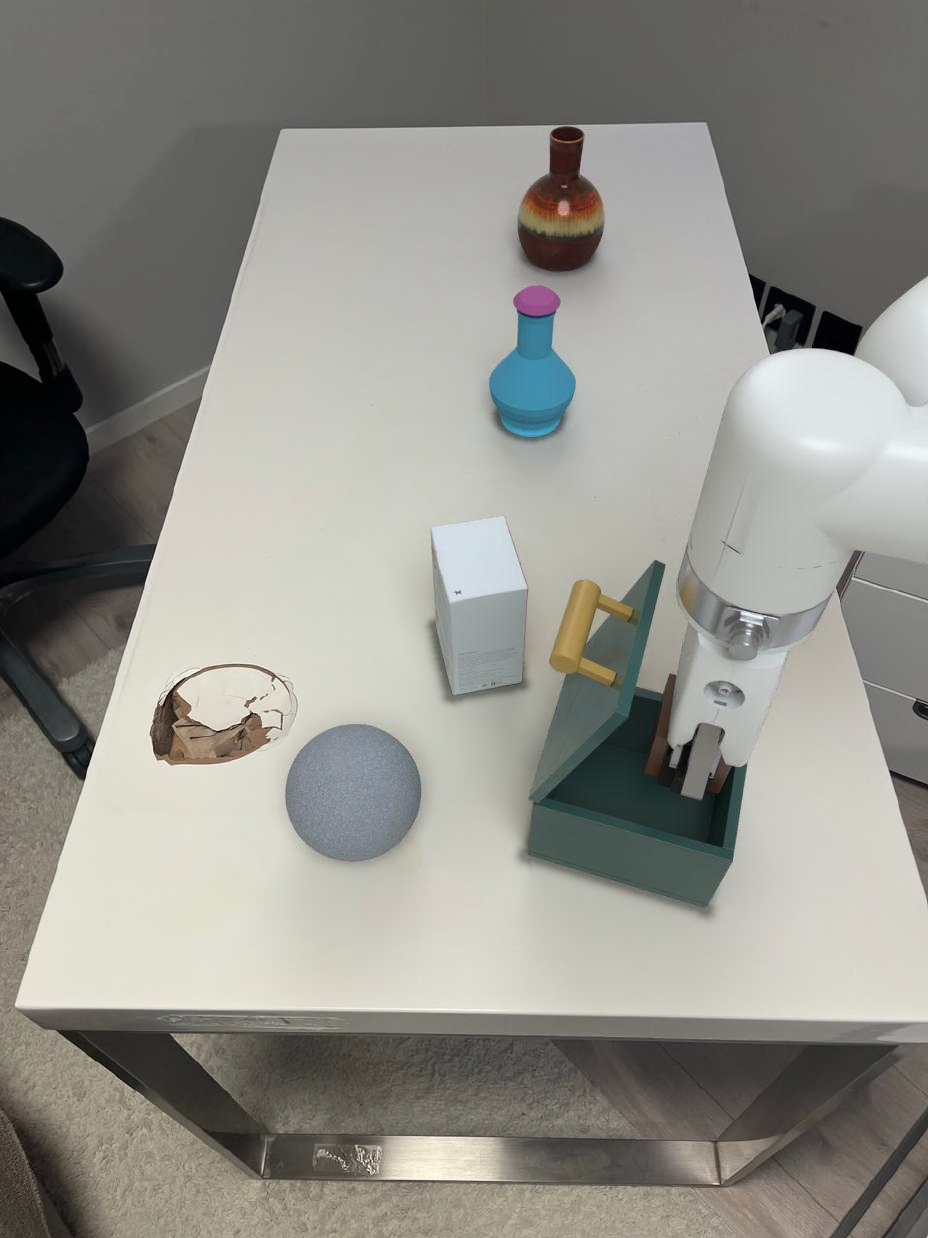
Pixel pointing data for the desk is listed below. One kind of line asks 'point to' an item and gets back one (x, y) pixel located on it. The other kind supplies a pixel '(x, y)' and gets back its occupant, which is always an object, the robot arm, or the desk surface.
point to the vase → (561, 208)
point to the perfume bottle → (533, 370)
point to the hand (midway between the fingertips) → (689, 749)
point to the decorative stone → (353, 792)
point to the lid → (595, 672)
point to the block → (661, 744)
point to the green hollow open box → (638, 818)
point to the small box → (479, 604)
